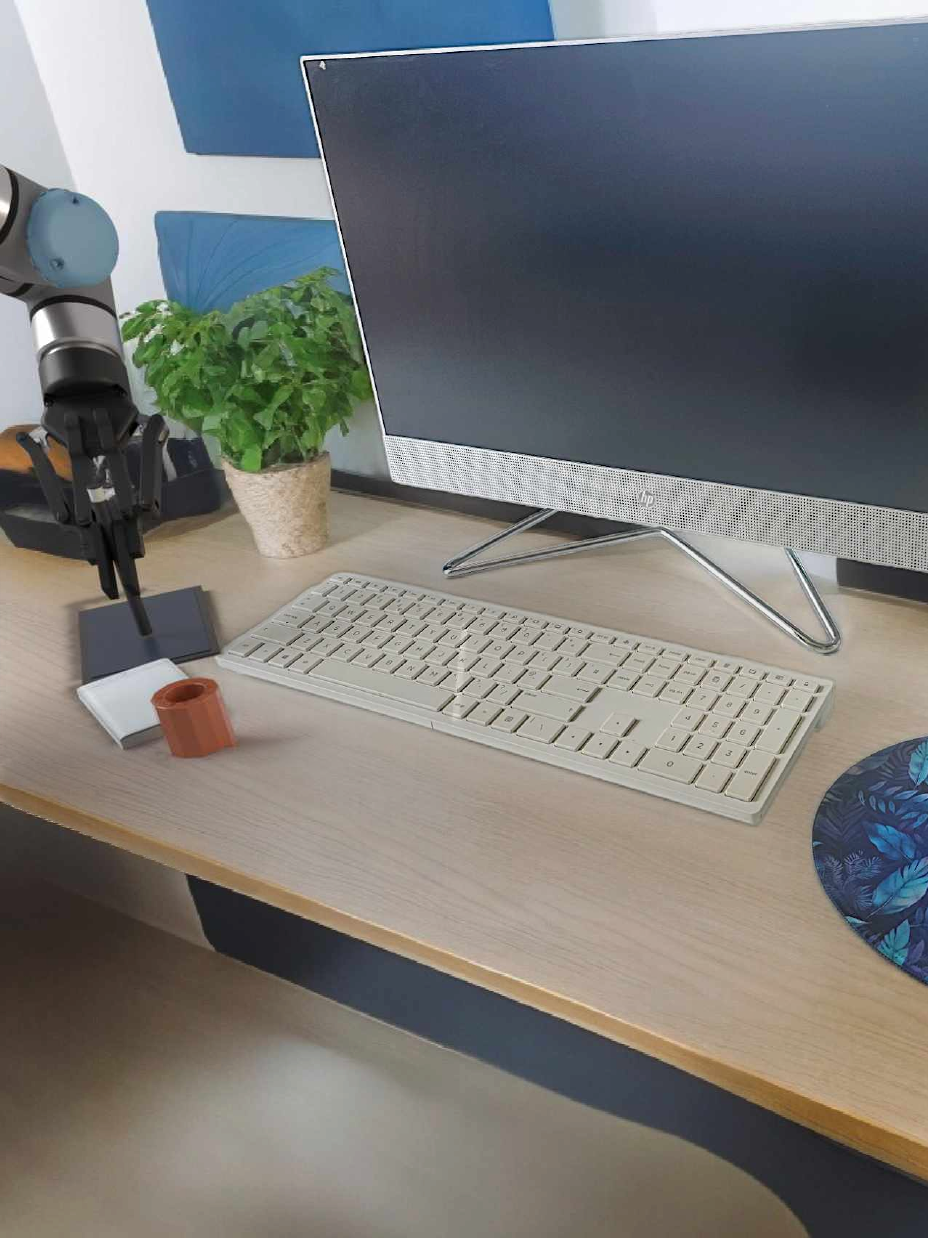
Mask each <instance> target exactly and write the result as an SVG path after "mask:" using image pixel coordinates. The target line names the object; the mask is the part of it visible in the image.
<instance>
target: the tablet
mask: <svg viewBox="0 0 928 1238" xmlns="http://www.w3.org/2000/svg"><path fill="white" fill-rule="evenodd" d="M141 599H142V602H143V605H144V608H145V611H146V614H147V616H148V619H149V622H150V625H151V628H152V631H153V633H152V634H150V635H147V636H140V634H139V632H138V629H137V626H136V623H135V620H134V618H133V615H132V612H131V609H130V607H129V604H128V601H127V600H125V601H121V602H116V603H111V604H107V605H103V606H98V607H94V608H89V609H84V610H80V611H79V610H78V612H77V619H78V620H77V621H78V635H79V651H80V652H79V653H80V668H81V680H82V681H81V683H82V684H81V686H83V685H86V684H89V683H92V682H95V681H97V680H100V679H103V678H106V677H109V676H112V675H115V674H118V673H121V672H124V671H127V670H130V669H133V668H136V667H139V666H142V665H145V664H148V663H151V662H154V661H157V660H160V659H164V658H168V659H169V660H170V661H171V662H172V663H174V664H175V665H176V666H177V665H180V664H184V663H189V662H192V661H196V660H197V661H198V660H201V659H205V658H210V657H214V656H217V655H221V654H222V653H221V649H220V645H219V641H218V638H217V635H216V632H215V628H214V624H213V621H212V617H211V614H210V611H209V607H208V604H207V600H206V597H205V593H204V590H203V587H202V585H201V584H199V585H195V586H190V587H185V588H181V589H176V590H172V591H171V590H170V591H167V592H162V593H157V594H152V595H149V596H144V597H141Z"/></svg>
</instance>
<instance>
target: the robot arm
mask: <svg viewBox="0 0 928 1238" xmlns="http://www.w3.org/2000/svg"><path fill="white" fill-rule="evenodd" d="M119 254H120V241H119V235H118V231H117V229H116V226H115V224H114V222H113V220H112V218H111V217H110V215H109V213H108V212H107V211H106V210H105V209H104V208H103V207H102V206H101V205H100V203H98V202H97V201H95V200H94V199H93V198H91V197H89V196H87V195H85V194H82V193H80V192H77V191H71V190H69V189H68V188H61V187H52V188H49V187H46V186H44V185H42V184H40V183H37V182H36V181H34V180H32V179H30V178H28V177H26V176H24V175H22V174H21V173H19V172H17V171H14V170H12V169H11V168H8V167H6V166H5V165H3V164H0V294H2V295H4V296H7V297H10V298H12V299H16V300H18V301H21V302H23V303H25V305H26V308H27V313H28V317H29V323H30V327H31V332H32V342H33V347H34V353H35V361H36V362H37V365H38V367H37V371H38V377H39V385H40V389H41V397H42V403H43V413H42V415H41V417H40V425H39V426H38V427H36V428H34V429H33V430H31V431H30V432H26V431H18V432H17V433H16V434H15V436H14V439H15V441H16V442H17V444H18V446H20V448H21V449H22V450H23V451H24V453H25V454H26V455H27V456H28V457H29V459H30V460H31V463H32V465H33V468H34V470H35V473H36V476H37V478H38V481H39V483H40V485H41V488H42V491H43V493H44V496H45V499H46V501H47V504H48V506H49V508H50V511H51V514H52V516H53V518H54V519H55V521H56V522H57V524H58V525H59V526H60V528H62V530H63V531H64V532H66V533H67V534H68V533H69V534H71V533H74V532H75V533H79V537H80V543H81V549H82V555H83V556H84V558H85V560H86V562H88V564H89V565H90V566H92V567H93V566H97V571H98V577H99V583H100V589H101V591H102V592H103V593H104V594H105V596H106V597H107V598H108V599H109V600H110V601H115V600H119V599H120V594H119V587H118V581H117V576H116V568H115V565H114V562H113V559H112V556H111V553H110V550H109V547H108V545H107V542H106V539H105V536H104V534H103V531H102V528H101V525H100V523H99V520H98V517H97V514H96V512H95V509H94V506H93V503H92V501H91V498H90V496H89V493H88V490H87V486H88V485H90V484H93V483H95V476H94V470H95V461H94V459H96V458H98V457H105V459H106V463H107V467H108V471H109V476H110V480H111V484H112V487H113V491H114V497H115V500H116V504H117V512H118V514H119V515H120V517H121V518H120V519H113V521H112V522H113V528H114V534H115V540H116V546H117V551H118V557H119V563H120V569H121V574H122V580H123V586H124V587H125V588H126V589H127V591H128V592H129V593H130V594H131V596H132V597H133V596H139V595H140V596H142V594H141V589H140V582H139V576H138V571H137V566H136V560H138V559H144V558H145V556H146V547H145V543H144V537H143V536H144V535H143V530H142V527H143V525H144V524H145V523H146V522H149V521H150V520H151V521H156V520H158V519H159V518H160V517H161V513H162V512H161V510H162V483H163V480H162V479H163V451H164V447H165V445H166V442H167V440H168V438H169V436H170V434H171V430H170V428H169V426H168V425H167V423H166V421H165V418H164V417H163V416H162V415H161V414H159V413H153V414H152V415H148V414H145V413H142V412H140V411H139V408H138V407H137V405H136V404H135V403H134V402H133V396H132V390H131V385H130V384H131V383H130V380H129V379H130V378H129V373H128V369H127V367H126V366H127V365H126V364H125V363H126V356H125V351H124V346H123V341H122V335H121V330H120V325H119V319H118V315H117V308H116V302H115V301H116V300H115V296H114V289H113V283H112V276H111V274H112V273H113V271H114V269H115V268H116V266H117V262H118V259H119ZM137 429H138V430H139V431H138V432H139V433H140V435H141V449H140V451H141V452H140V477H139V502H138V503H137V500H136V496H135V492H134V488H133V484H132V479H131V476H130V472H129V468H128V459H127V456H126V452H125V449H126V447H127V446H128V444H129V442H130V441H131V439H132V437H133V436H134V434H135V432H136V431H137ZM51 439H52V440H53V441H54V442H56V443H57V444H58V445H59V446H61V447H62V448H63V449H64V450H66V452H67V453H68V456H69V459H70V460H69V461H70V468H71V479H72V489H73V500H74V511H75V512H72V510H71V507H70V504H69V502H68V499H67V496H66V494H65V491H64V489H63V487H62V484H61V481H60V478H59V476H58V474H57V472H56V469H55V466H54V465H53V461H51V459H50V458H49V456H48V455H50V452H51V445H50V440H51Z"/></svg>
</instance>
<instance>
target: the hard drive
mask: <svg viewBox="0 0 928 1238" xmlns="http://www.w3.org/2000/svg"><path fill="white" fill-rule="evenodd" d="M190 678H191V677H189V676H188V675H187V674H186V673H184V671H182V670H181V669H180V668H179V667H178V666H177V664H176V665H175V664H174V663H172V662H171V661H170V660H169V659H168V658H164V659H160V660H157V661H154V662H151V663H148V664H145V665H142V666H139V667H136V668H133V669H130V670H127V671H124V672H121V673H118V674H115V675H112V676H109V677H106V678H103V679H100V680H97V681H95V682H92V683H89V684H86V685H81V686H79V687H78V688H76V693H77V695H78V698H79V699H80V701H81V702H82V703H83V704H84V705H85V707H86V708H87V709H88V710H89V712H90V713H91V714H92V715H93V716H94V717H95V718H96V720H97V721H98V722H99V724H100V725H101V726H102V727H103V728H104V729H105V730H106V731H107V733H108V734H109V735H110V736H111V738H112V739H113V740H114V741H115V742H116V743H117V745H118V746H119V747H120V749H121V750H122V751H124V750H127V749H130V748H132V747H135V746H138V745H141V744H143V743H146V742H149V741H151V740H154V739H157V738H159V737H163V735H162V732H161V729H160V727H159V724H158V721H157V718H156V716H155V713H154V710H153V707H152V704H151V702H150V701H151V699H152V697H153V695H154V693H155V692H157V691H158V690H160V689H161V688H163V687H164V686H166V685H167V684H170V683H173V682H176V681H179V680H182V679H190Z"/></svg>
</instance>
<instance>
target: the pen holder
mask: <svg viewBox="0 0 928 1238" xmlns="http://www.w3.org/2000/svg"><path fill="white" fill-rule="evenodd" d="M189 678H190V679H182V680H179V681H176V682H173V683H170V684H167V685H166V686H164V687H163V688H161V689H160V690H158V691H157V692H155V693H154V695H153V697H152V699H151V701H150V702H151V704H152V707H153V710H154V713H155V716H156V718H157V721H158V724H159V727H160V729H161V732H162V737H163V740H164V743H165V746H166V748H167V751H168V755H171V756H172V757H176V758H179V759H180V758H181V759H194V758H203V757H206V756H208V755H212V754H215V753H217V752H219V751H222V750H223V749H227V748H234V747H236V748H237V746H238V740H237V736H236V734H235V730H234V728H233V723H232V722H231V718H230V714H229V712H228V708H227V706H226V703H225V700H224V696H223V693H222V690H221V687H220V685H219V684H218V683H217V682H216V680H215V679H213V678H207V677H189Z"/></svg>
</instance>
